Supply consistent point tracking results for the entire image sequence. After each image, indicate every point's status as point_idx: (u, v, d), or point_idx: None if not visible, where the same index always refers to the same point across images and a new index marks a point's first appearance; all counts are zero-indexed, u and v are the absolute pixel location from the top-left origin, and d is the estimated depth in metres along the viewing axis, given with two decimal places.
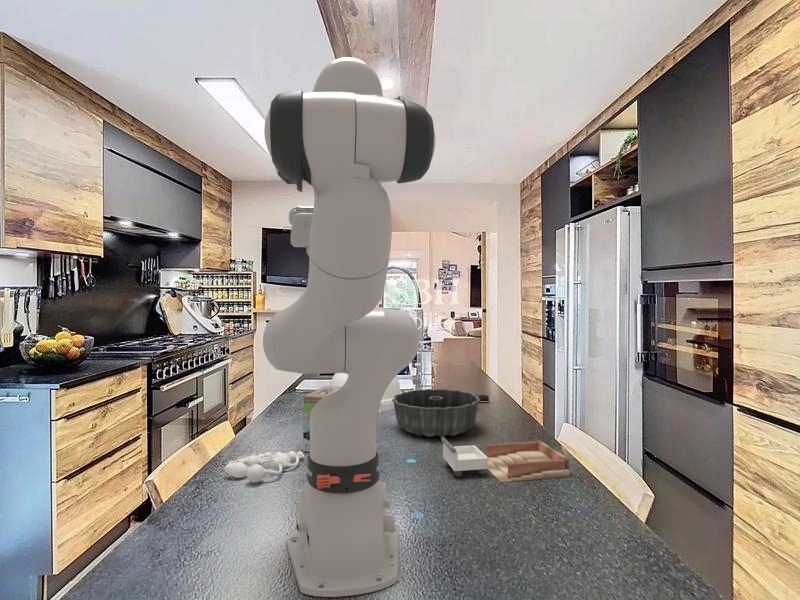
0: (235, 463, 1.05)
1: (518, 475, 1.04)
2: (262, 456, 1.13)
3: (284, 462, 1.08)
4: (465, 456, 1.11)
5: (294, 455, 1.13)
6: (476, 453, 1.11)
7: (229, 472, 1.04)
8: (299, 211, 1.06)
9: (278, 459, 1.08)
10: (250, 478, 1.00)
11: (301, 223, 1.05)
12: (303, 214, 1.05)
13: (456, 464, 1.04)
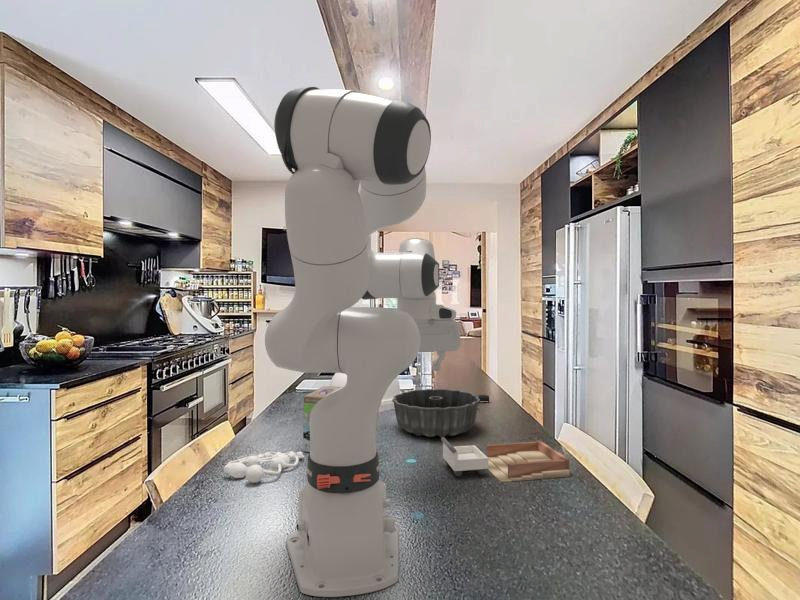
0: (234, 463, 1.05)
1: (518, 475, 1.04)
2: (262, 456, 1.13)
3: (283, 462, 1.08)
4: (465, 456, 1.11)
5: (294, 455, 1.13)
6: (476, 453, 1.11)
7: (228, 472, 1.03)
8: None
9: (277, 459, 1.07)
10: (249, 478, 1.00)
11: None
12: None
13: (456, 464, 1.04)
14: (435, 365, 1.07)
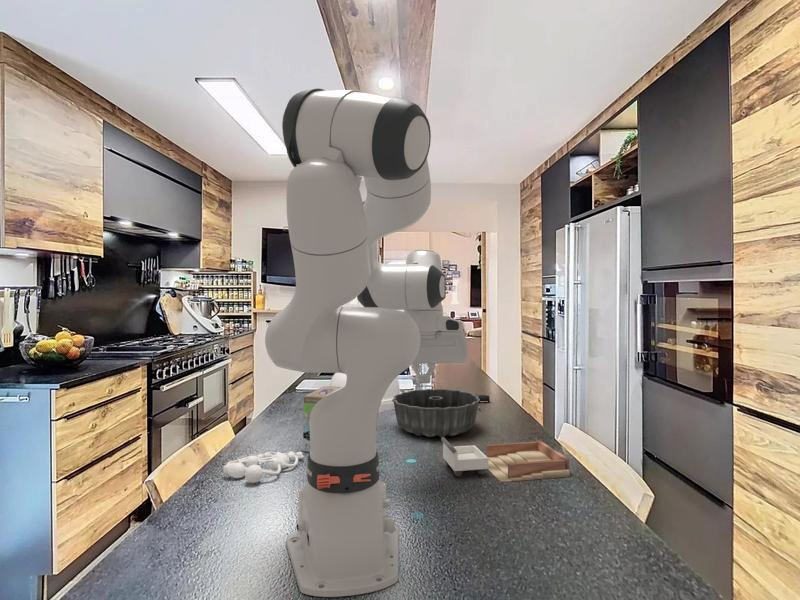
0: (234, 463, 1.04)
1: (518, 475, 1.04)
2: (261, 456, 1.13)
3: (283, 462, 1.08)
4: (465, 456, 1.11)
5: (293, 455, 1.13)
6: (476, 453, 1.11)
7: (227, 472, 1.03)
8: None
9: (277, 459, 1.07)
10: (248, 478, 1.00)
11: None
12: None
13: (456, 464, 1.04)
14: (425, 377, 1.06)
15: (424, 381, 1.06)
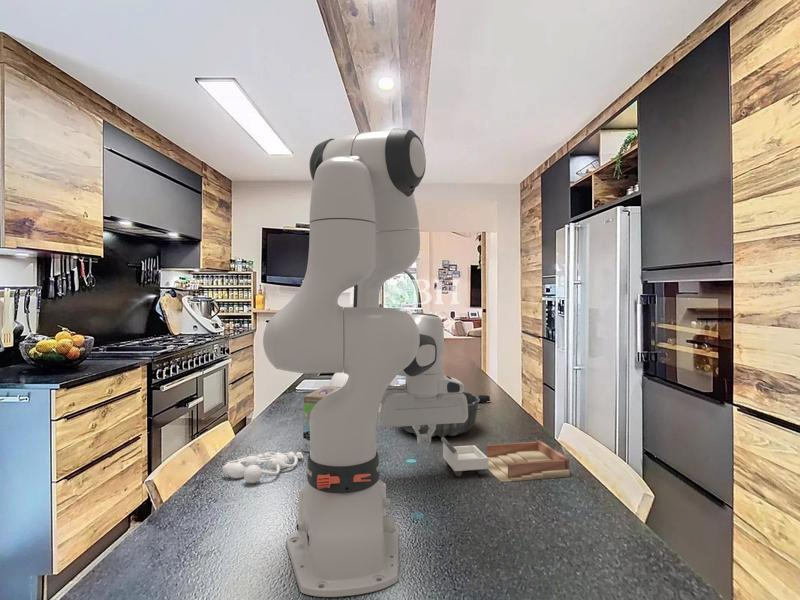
0: (233, 463, 1.04)
1: (518, 475, 1.04)
2: (261, 456, 1.13)
3: (282, 463, 1.08)
4: (465, 456, 1.11)
5: (293, 456, 1.13)
6: (476, 453, 1.11)
7: (227, 472, 1.03)
8: (390, 390, 1.05)
9: (276, 460, 1.07)
10: (247, 478, 1.00)
11: (393, 404, 1.04)
12: (395, 396, 1.04)
13: (456, 464, 1.04)
14: (426, 438, 1.07)
15: (425, 442, 1.07)
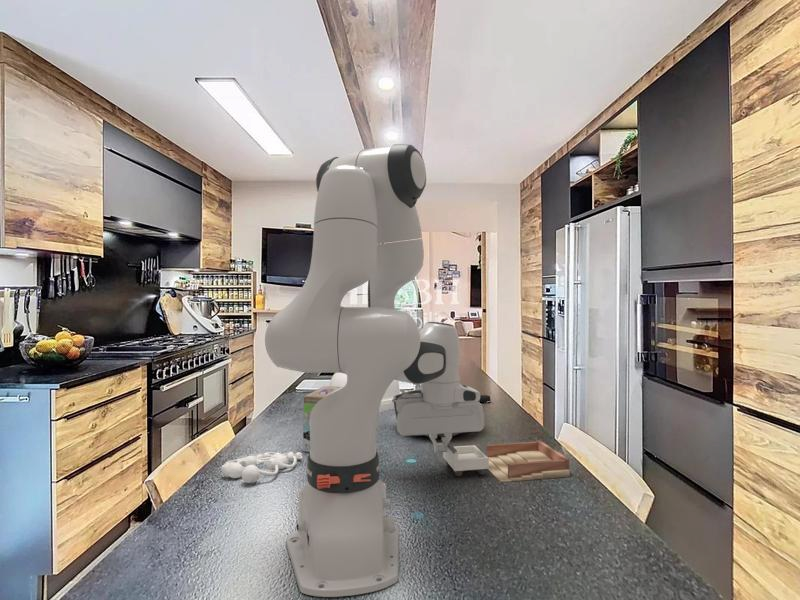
0: (231, 463, 1.05)
1: (518, 475, 1.04)
2: (260, 456, 1.13)
3: (281, 463, 1.08)
4: (465, 456, 1.11)
5: (292, 456, 1.12)
6: (476, 453, 1.11)
7: (225, 472, 1.04)
8: (406, 399, 1.06)
9: (274, 460, 1.07)
10: (245, 478, 1.00)
11: (410, 413, 1.05)
12: (411, 404, 1.05)
13: (456, 464, 1.04)
14: (442, 447, 1.07)
15: (442, 450, 1.07)
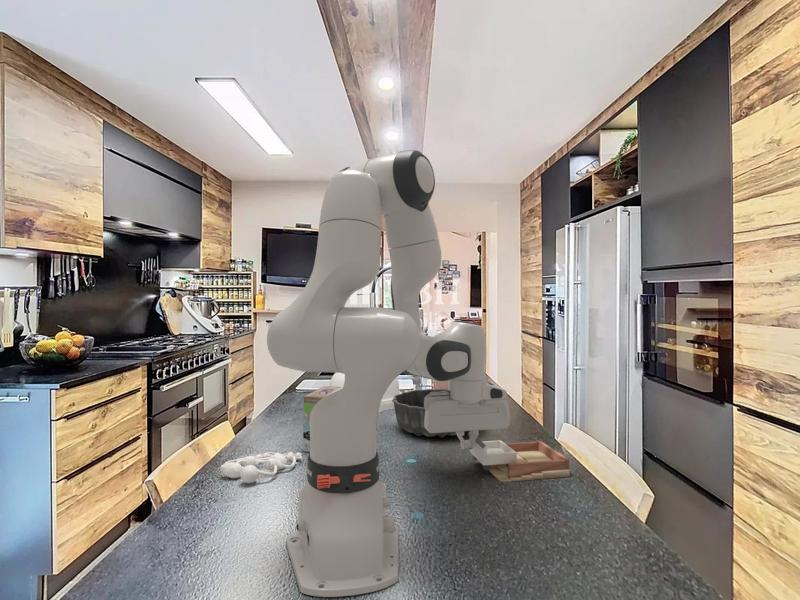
0: (230, 463, 1.05)
1: (518, 475, 1.04)
2: (260, 456, 1.13)
3: (280, 463, 1.08)
4: (492, 451, 1.12)
5: (291, 456, 1.12)
6: (503, 448, 1.13)
7: (224, 472, 1.04)
8: (434, 397, 1.07)
9: (273, 460, 1.07)
10: (243, 479, 1.00)
11: (438, 411, 1.06)
12: (439, 402, 1.06)
13: (485, 458, 1.05)
14: (469, 444, 1.09)
15: (469, 447, 1.09)
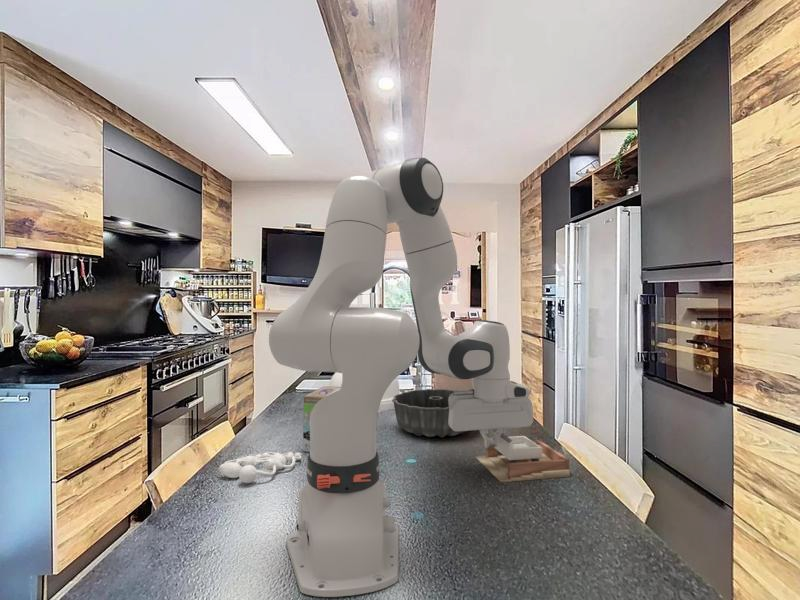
0: (229, 463, 1.05)
1: (518, 475, 1.04)
2: (259, 456, 1.13)
3: (279, 463, 1.07)
4: (516, 446, 1.14)
5: (290, 456, 1.12)
6: (527, 443, 1.14)
7: (223, 472, 1.04)
8: (458, 396, 1.09)
9: (272, 460, 1.07)
10: (242, 479, 1.00)
11: (462, 409, 1.07)
12: (464, 401, 1.07)
13: (511, 453, 1.06)
14: (493, 442, 1.10)
15: (492, 445, 1.10)
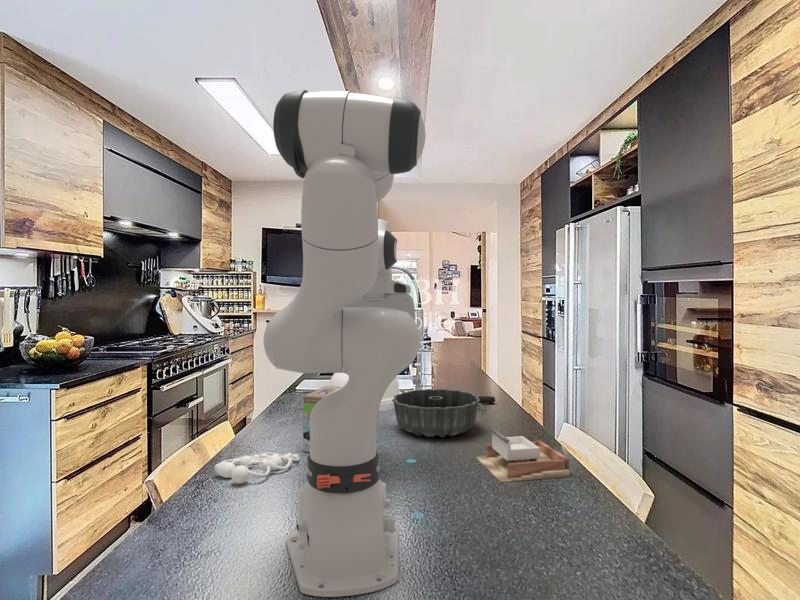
0: (224, 463, 1.05)
1: (518, 475, 1.04)
2: (257, 457, 1.13)
3: (273, 464, 1.07)
4: (514, 446, 1.13)
5: (287, 458, 1.11)
6: (525, 443, 1.14)
7: (217, 471, 1.04)
8: None
9: (267, 461, 1.06)
10: (233, 479, 1.00)
11: None
12: None
13: (509, 454, 1.06)
14: None
15: None
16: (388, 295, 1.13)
